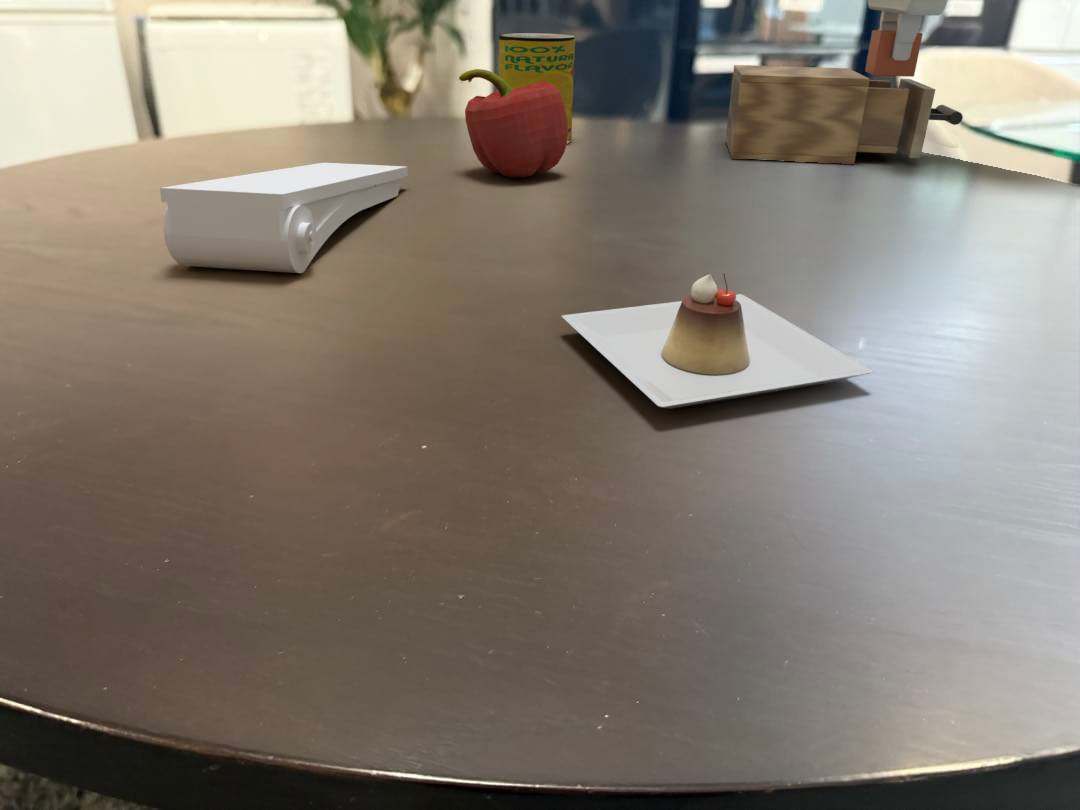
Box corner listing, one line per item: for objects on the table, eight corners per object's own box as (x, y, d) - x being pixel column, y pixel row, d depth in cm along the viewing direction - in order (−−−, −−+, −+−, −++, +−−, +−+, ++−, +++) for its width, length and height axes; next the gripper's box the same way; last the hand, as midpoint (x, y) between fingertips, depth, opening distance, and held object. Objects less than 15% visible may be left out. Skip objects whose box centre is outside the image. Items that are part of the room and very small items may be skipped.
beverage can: (579, 146, 101) (584, 38, 96) (506, 147, 99) (507, 37, 94) (561, 133, 109) (564, 33, 103) (493, 135, 107) (492, 32, 102)
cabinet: (835, 146, 104) (849, 68, 100) (854, 164, 94) (870, 78, 90) (725, 141, 106) (734, 64, 102) (731, 159, 96) (741, 74, 91)
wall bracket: (329, 241, 82) (175, 302, 56) (307, 166, 80) (137, 193, 54) (425, 221, 80) (312, 274, 54) (405, 143, 78) (278, 159, 52)
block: (904, 72, 96) (912, 31, 94) (914, 76, 92) (923, 33, 90) (864, 71, 97) (872, 30, 95) (873, 75, 93) (881, 32, 91)
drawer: (933, 143, 102) (947, 80, 99) (959, 160, 93) (976, 90, 90) (793, 138, 104) (803, 75, 101) (805, 153, 95) (816, 85, 91)
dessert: (870, 391, 42) (891, 301, 40) (657, 428, 38) (666, 330, 36) (739, 310, 52) (749, 234, 50) (560, 333, 48) (562, 252, 46)
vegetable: (449, 181, 82) (446, 73, 78) (473, 161, 92) (471, 63, 87) (558, 187, 81) (561, 77, 76) (572, 166, 90) (575, 67, 86)
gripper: (985, -92, 78) (949, 67, 84) (925, -79, 96) (899, 51, 102) (914, -93, 79) (884, 65, 85) (868, -79, 97) (846, 50, 103)
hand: (892, 57), depth 94 cm, fingers closed on block, 4 cm apart
